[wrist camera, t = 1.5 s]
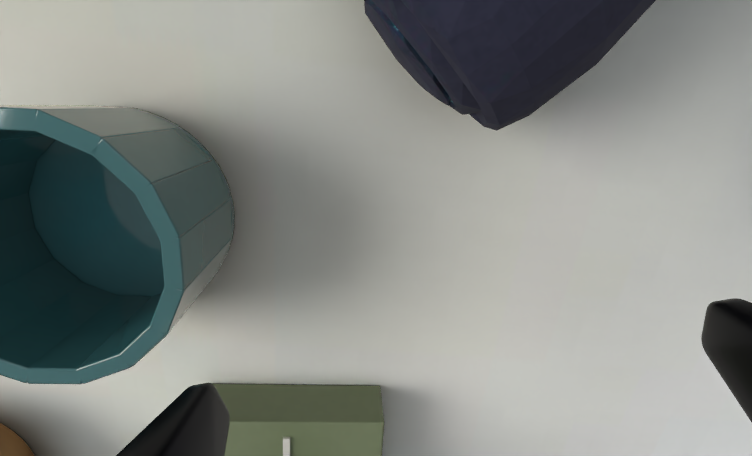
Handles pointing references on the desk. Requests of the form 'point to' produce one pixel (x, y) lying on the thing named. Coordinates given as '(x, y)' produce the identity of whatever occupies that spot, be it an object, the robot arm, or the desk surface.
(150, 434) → the robot arm
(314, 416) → the control panel
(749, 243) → the desk surface
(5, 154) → the teal cup
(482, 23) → the portable speaker
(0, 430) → the stand
